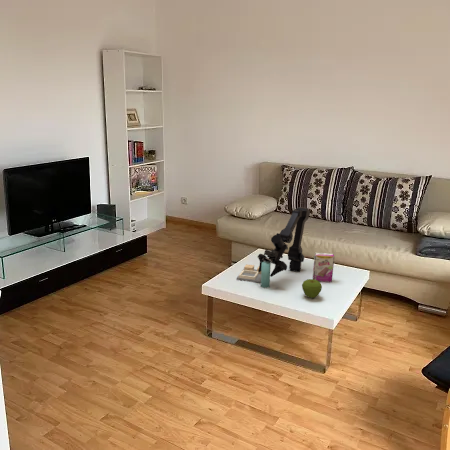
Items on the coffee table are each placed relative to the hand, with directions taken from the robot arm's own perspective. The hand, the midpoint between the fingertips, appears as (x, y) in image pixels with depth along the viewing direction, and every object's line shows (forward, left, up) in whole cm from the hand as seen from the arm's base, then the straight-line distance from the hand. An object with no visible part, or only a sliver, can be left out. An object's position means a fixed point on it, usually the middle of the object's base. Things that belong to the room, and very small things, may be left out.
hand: (264, 274), depth 274 cm
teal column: (0, -1, -8) cm, 8 cm away
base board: (+10, -13, -7) cm, 18 cm away
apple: (-27, +5, -8) cm, 29 cm away
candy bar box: (-30, -21, -8) cm, 38 cm away
